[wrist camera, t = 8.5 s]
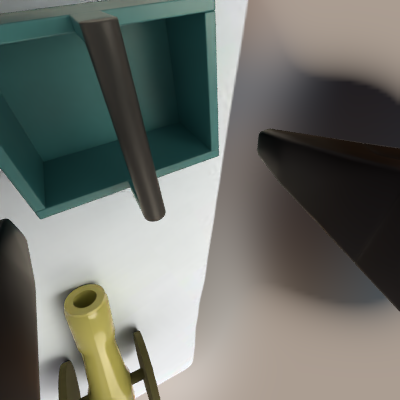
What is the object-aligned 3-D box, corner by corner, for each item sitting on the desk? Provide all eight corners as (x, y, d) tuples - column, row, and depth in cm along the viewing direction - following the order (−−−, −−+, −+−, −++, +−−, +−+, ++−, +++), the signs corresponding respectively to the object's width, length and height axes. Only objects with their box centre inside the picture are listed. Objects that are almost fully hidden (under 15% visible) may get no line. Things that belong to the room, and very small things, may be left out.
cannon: (18, 301, 25) (11, 442, 17) (135, 264, 30) (171, 360, 22) (71, 382, 40) (80, 476, 32) (142, 349, 45) (164, 423, 37)
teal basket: (184, 124, 21) (249, 183, 15) (38, 167, 18) (41, 269, 12) (167, -8, 15) (264, -4, 9) (-56, 20, 12) (-162, 60, 6)
